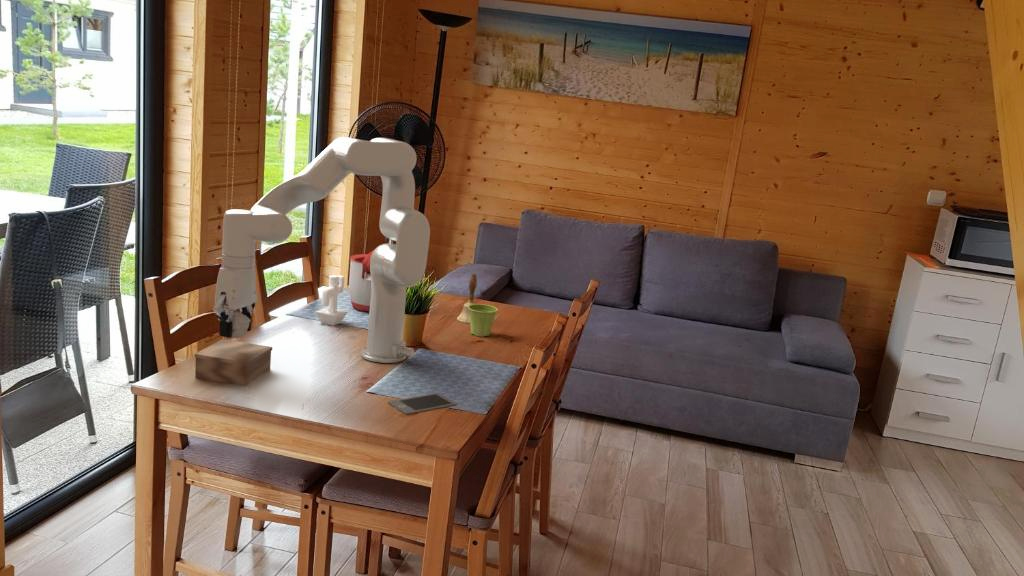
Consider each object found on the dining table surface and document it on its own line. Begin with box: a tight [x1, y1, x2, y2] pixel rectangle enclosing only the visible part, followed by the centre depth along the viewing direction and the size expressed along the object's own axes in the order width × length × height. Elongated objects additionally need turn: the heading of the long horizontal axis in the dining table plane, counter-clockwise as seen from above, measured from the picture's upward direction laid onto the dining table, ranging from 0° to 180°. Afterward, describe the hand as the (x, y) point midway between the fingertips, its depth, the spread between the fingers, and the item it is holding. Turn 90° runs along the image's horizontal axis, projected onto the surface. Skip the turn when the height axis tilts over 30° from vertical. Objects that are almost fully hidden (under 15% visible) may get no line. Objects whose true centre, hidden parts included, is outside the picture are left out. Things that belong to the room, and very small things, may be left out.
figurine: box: [315, 275, 349, 327], centre depth 251 cm, size 7×9×15 cm
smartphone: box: [387, 392, 457, 415], centre depth 196 cm, size 15×8×1 cm, turn 131°
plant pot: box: [468, 303, 499, 338], centre depth 258 cm, size 9×9×9 cm
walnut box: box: [194, 338, 273, 387], centre depth 201 cm, size 13×13×6 cm
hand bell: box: [456, 273, 478, 324], centre depth 272 cm, size 8×8×16 cm
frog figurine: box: [225, 309, 252, 339], centre depth 198 cm, size 6×7×7 cm
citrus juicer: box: [348, 249, 375, 312], centre depth 272 cm, size 16×17×20 cm
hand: (235, 332), depth 199 cm, fingers closed on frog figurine, 6 cm apart
